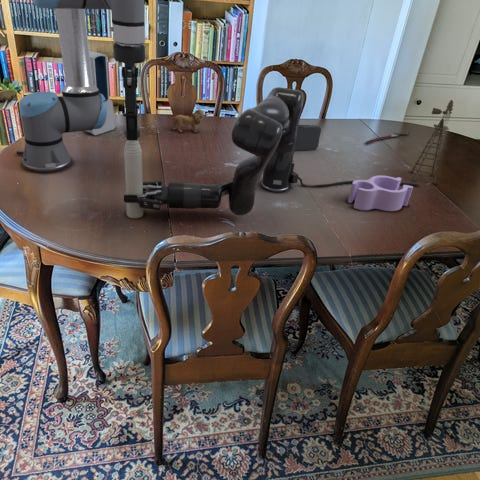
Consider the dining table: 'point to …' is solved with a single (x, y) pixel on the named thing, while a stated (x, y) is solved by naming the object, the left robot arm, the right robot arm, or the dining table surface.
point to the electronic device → (102, 89)
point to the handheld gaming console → (307, 137)
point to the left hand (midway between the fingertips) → (132, 136)
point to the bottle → (133, 176)
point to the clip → (379, 193)
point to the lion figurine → (189, 120)
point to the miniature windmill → (438, 128)
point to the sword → (384, 137)
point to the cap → (137, 132)
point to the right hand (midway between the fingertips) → (125, 194)
